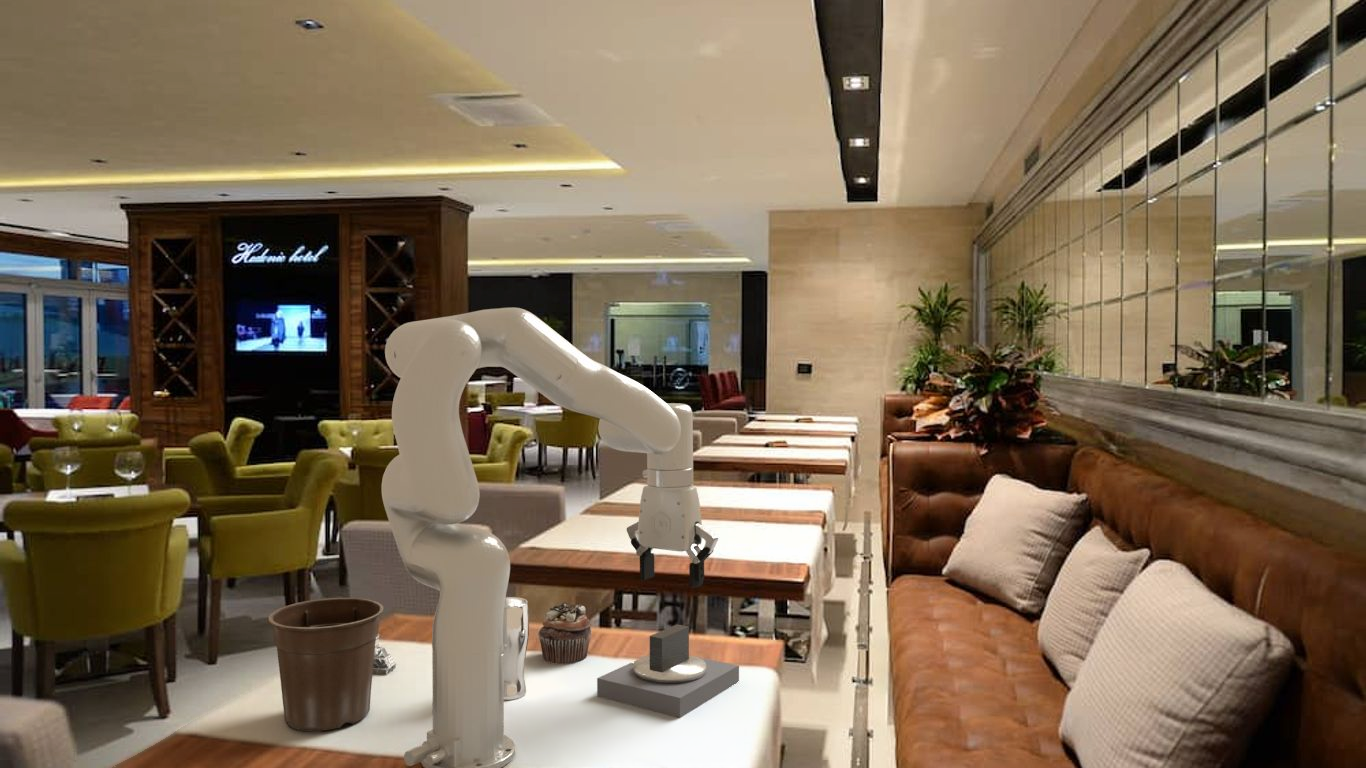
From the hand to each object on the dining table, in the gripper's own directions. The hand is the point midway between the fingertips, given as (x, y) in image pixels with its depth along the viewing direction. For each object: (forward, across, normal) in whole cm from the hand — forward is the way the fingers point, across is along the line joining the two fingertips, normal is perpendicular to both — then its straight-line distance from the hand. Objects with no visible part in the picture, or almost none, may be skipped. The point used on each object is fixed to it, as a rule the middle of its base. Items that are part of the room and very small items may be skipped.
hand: (671, 582), depth 151 cm
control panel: (+18, 0, -1) cm, 18 cm away
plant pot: (+17, -37, -39) cm, 56 cm away
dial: (+15, 0, -1) cm, 15 cm away
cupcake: (+18, -25, +2) cm, 31 cm away
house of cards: (+18, -49, -19) cm, 55 cm away
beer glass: (+18, -21, -17) cm, 32 cm away
